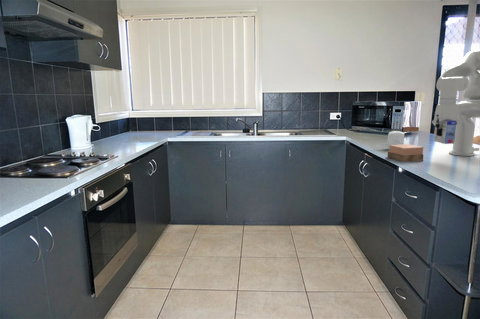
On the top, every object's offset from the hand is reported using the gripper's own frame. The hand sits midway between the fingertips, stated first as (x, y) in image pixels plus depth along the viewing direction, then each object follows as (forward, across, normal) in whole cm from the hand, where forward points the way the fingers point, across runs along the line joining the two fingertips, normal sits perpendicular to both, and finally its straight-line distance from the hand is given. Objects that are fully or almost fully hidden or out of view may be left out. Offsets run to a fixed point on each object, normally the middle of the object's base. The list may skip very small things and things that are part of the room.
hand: (444, 135), depth 168 cm
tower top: (+10, +16, -8) cm, 21 cm away
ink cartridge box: (+4, 0, 0) cm, 4 cm away
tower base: (+14, +17, -8) cm, 23 cm away
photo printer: (+15, +3, -39) cm, 42 cm away
